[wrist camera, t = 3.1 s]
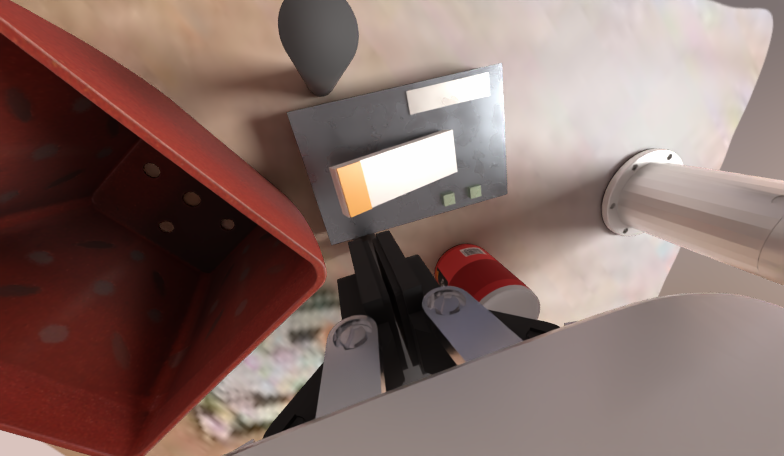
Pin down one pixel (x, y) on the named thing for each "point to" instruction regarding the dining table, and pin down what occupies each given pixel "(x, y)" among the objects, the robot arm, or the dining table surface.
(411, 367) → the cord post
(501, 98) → the breaker panel
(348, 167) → the paddle
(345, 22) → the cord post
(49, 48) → the plant pot
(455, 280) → the canned food
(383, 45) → the dining table surface
